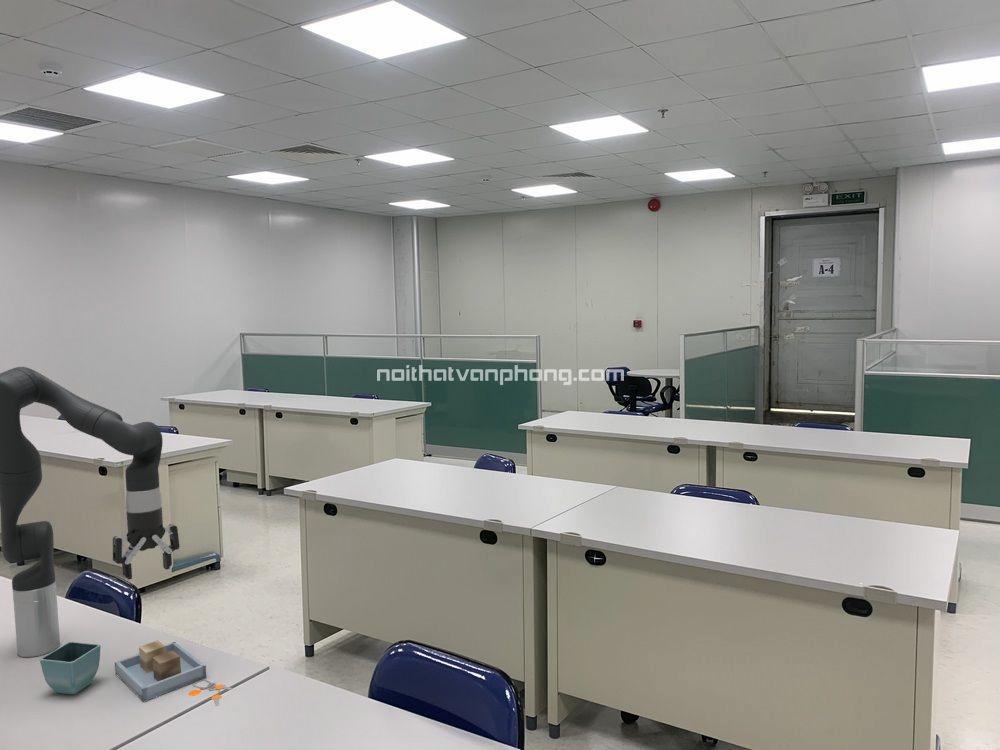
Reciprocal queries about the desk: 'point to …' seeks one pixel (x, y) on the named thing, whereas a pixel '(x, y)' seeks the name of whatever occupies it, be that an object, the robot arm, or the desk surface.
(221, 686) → the key chain
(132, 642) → the desk surface
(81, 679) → the flower pot
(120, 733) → the desk surface
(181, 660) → the tray
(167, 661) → the walnut block
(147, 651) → the oak block
